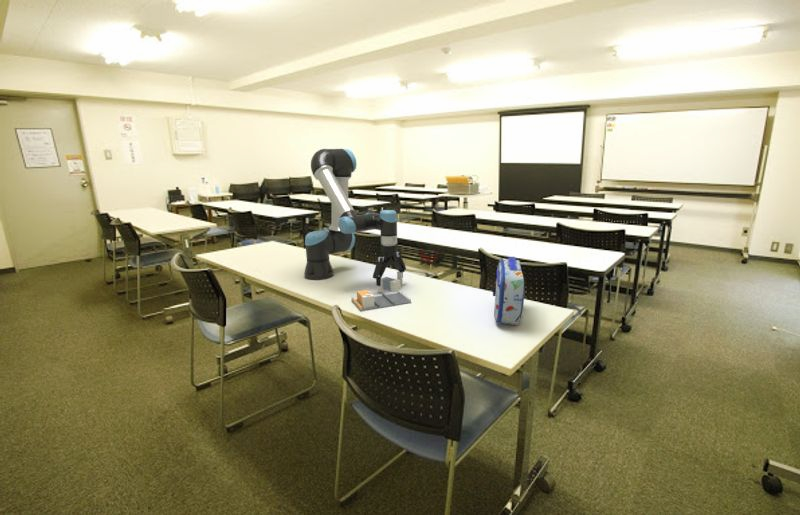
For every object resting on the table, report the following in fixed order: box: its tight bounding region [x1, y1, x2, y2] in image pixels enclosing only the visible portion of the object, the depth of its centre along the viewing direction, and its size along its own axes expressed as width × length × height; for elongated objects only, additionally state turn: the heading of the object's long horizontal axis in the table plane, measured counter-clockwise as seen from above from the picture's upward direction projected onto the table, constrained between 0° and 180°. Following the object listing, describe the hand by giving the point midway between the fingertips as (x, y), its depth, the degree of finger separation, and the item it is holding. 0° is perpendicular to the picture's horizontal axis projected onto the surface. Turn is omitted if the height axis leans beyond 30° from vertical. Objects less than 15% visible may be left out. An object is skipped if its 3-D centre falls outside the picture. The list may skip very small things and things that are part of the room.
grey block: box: [381, 276, 402, 293], centre depth 181 cm, size 9×5×5 cm, turn 48°
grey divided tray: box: [350, 290, 412, 312], centre depth 165 cm, size 13×22×2 cm, turn 113°
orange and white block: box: [356, 289, 375, 308], centre depth 161 cm, size 9×5×5 cm, turn 23°
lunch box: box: [492, 256, 525, 326], centre depth 146 cm, size 28×10×22 cm, turn 168°
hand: (390, 288), depth 182 cm, fingers open, 13 cm apart
